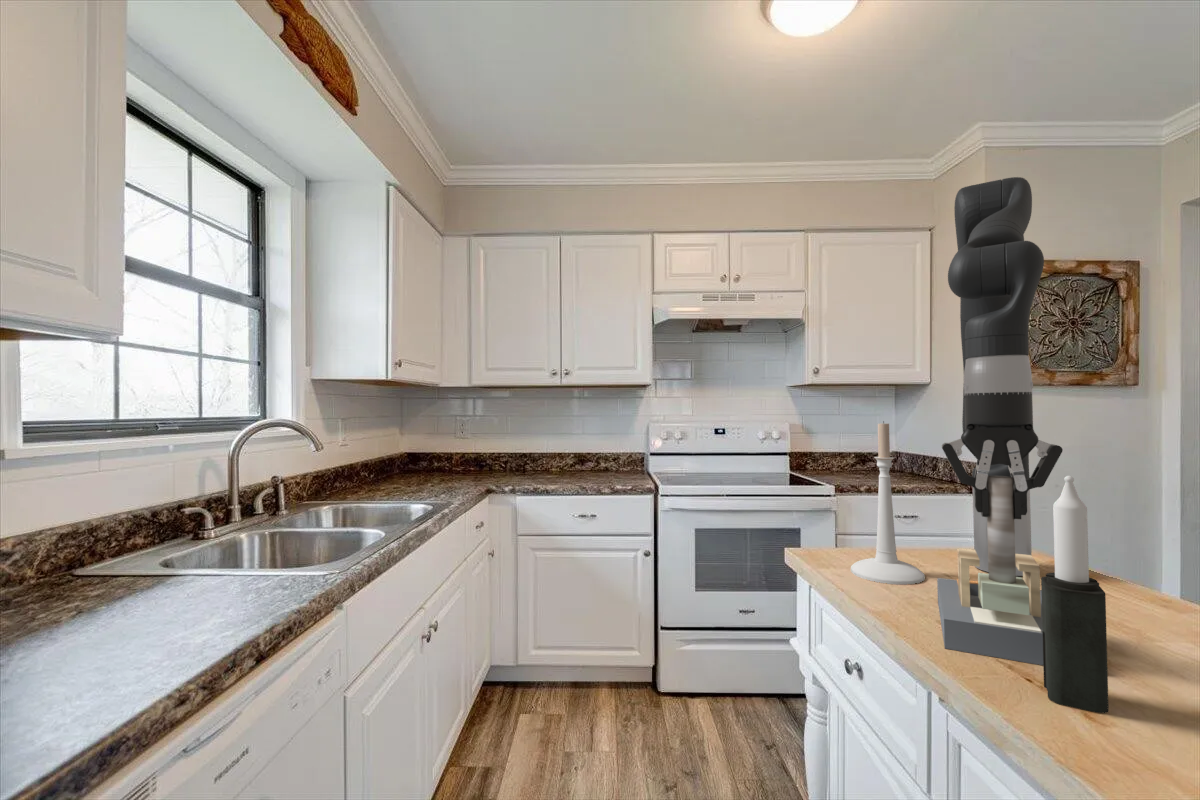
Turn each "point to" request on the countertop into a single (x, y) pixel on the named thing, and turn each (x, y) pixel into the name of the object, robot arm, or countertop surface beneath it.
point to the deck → (987, 627)
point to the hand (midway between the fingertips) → (1000, 516)
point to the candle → (1073, 614)
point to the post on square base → (1002, 553)
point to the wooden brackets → (1022, 563)
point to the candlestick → (886, 530)
